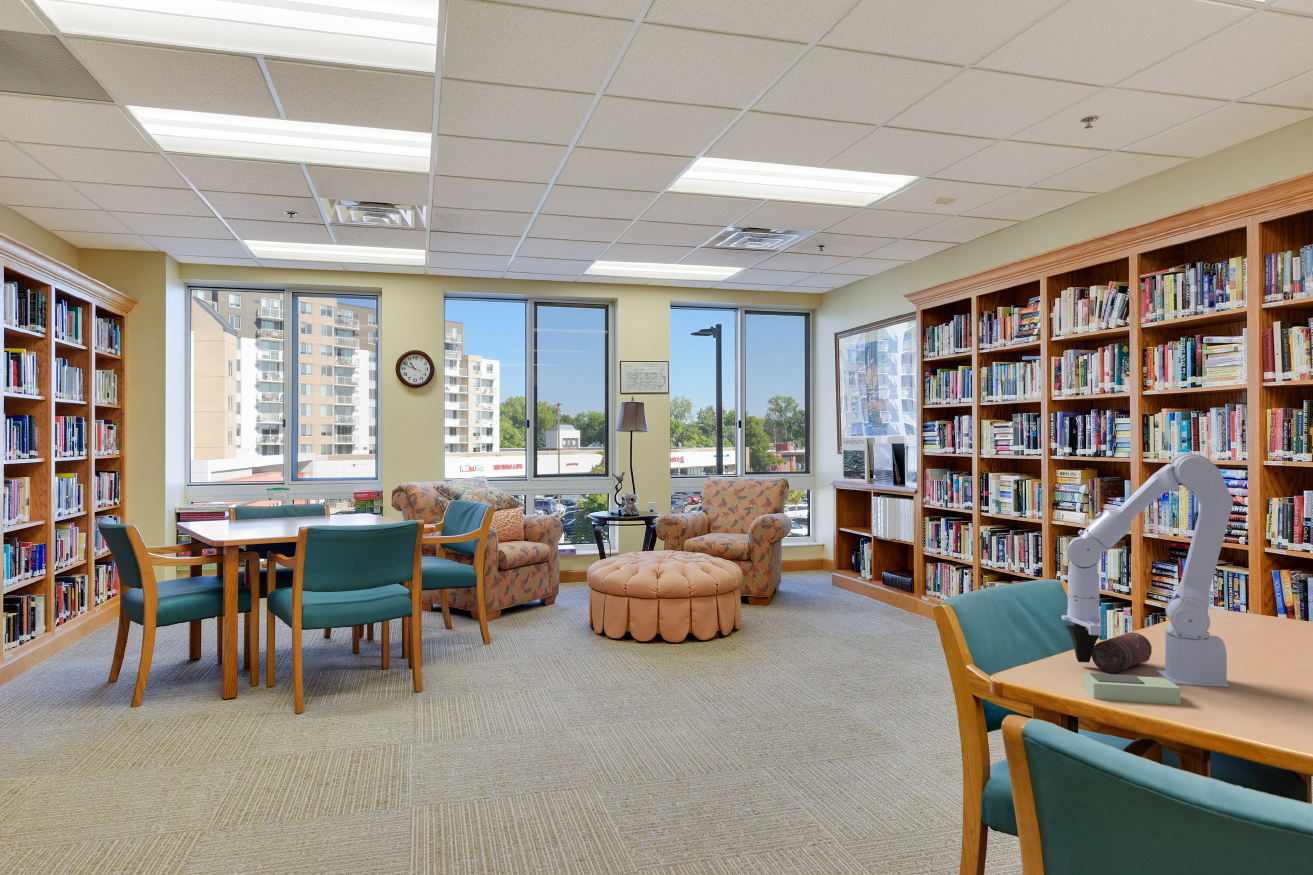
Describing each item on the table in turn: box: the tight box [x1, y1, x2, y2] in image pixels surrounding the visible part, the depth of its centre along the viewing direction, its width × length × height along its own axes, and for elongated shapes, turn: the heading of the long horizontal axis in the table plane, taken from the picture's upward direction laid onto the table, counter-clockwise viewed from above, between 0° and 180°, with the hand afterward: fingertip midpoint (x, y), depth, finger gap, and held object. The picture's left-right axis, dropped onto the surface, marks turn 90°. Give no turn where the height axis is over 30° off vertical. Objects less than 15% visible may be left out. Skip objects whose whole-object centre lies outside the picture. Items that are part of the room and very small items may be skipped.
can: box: [1091, 632, 1153, 674], centre depth 160 cm, size 6×6×14 cm
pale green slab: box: [1082, 672, 1182, 705], centre depth 142 cm, size 14×6×3 cm, turn 78°
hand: (1083, 661), depth 160 cm, fingers closed
